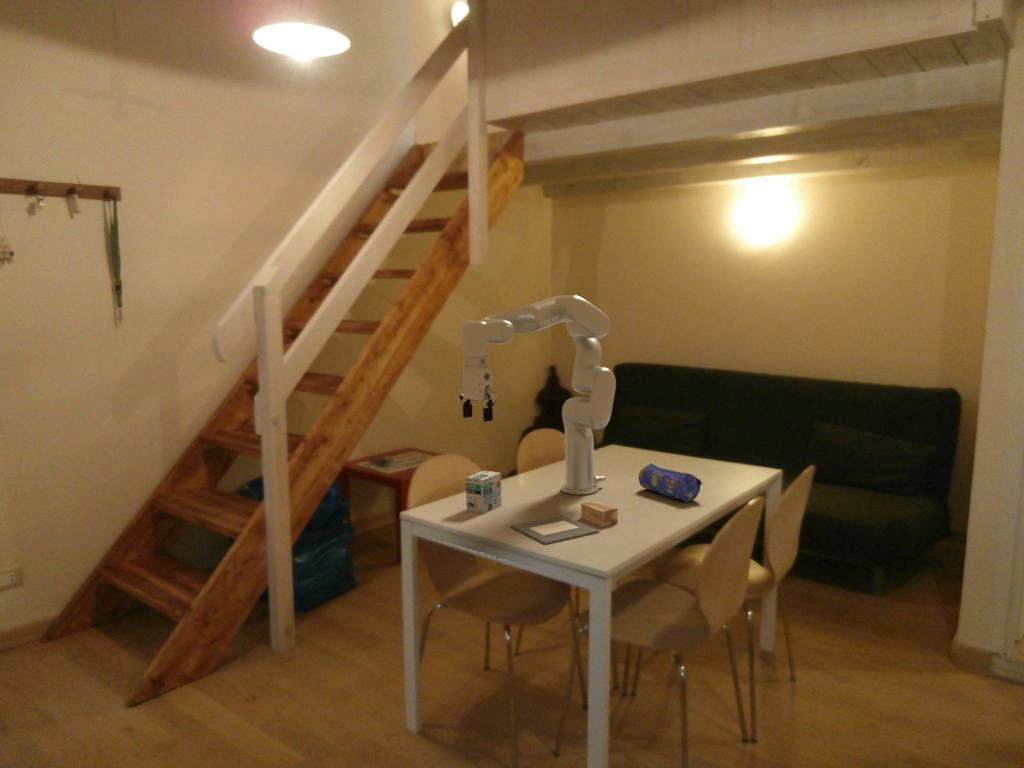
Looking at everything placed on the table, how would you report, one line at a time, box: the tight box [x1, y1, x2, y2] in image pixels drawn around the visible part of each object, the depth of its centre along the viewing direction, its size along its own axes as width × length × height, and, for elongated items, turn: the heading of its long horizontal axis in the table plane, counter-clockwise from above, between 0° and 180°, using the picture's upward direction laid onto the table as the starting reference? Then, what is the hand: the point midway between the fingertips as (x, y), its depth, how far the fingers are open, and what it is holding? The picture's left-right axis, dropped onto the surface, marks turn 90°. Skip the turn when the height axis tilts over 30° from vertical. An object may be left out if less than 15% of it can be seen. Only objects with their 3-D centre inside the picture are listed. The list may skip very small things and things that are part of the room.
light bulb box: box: [465, 470, 502, 514], centre depth 232 cm, size 11×7×11 cm, turn 149°
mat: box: [510, 514, 600, 545], centre depth 210 cm, size 18×18×1 cm
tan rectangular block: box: [580, 500, 619, 527], centre depth 218 cm, size 6×10×4 cm, turn 33°
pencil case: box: [638, 463, 703, 504], centre depth 242 cm, size 22×9×10 cm, turn 31°
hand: (477, 419), depth 223 cm, fingers open, 9 cm apart
